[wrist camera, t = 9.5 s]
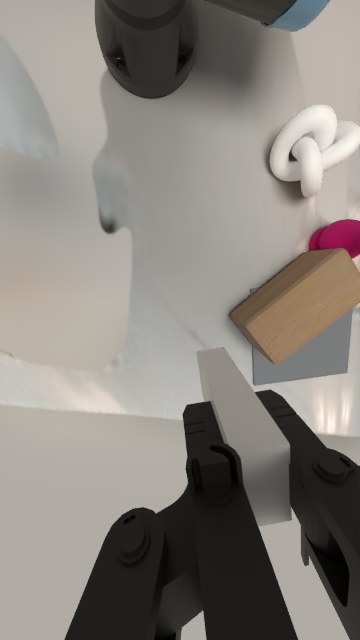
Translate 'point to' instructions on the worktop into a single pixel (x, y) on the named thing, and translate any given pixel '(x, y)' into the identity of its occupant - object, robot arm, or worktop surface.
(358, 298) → the block
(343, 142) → the white decorative knot
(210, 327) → the worktop surface
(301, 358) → the mat
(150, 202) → the worktop surface
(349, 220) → the pepper mill
